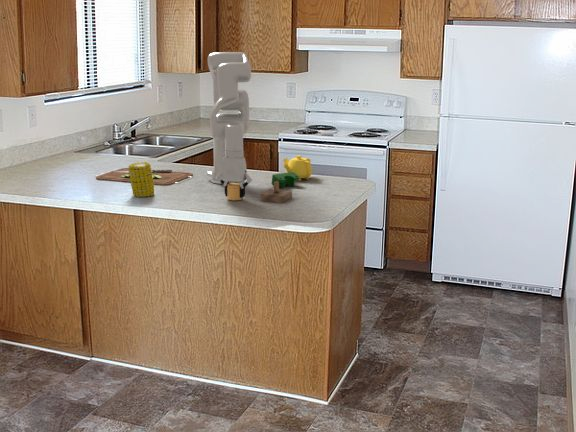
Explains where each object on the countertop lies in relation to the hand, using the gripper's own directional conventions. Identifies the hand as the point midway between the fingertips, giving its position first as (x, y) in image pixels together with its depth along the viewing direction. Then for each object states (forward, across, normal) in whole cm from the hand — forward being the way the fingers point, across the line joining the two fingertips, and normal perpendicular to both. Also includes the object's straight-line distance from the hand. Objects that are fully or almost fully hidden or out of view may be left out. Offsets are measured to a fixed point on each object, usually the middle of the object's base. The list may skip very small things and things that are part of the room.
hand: (234, 195), depth 317 cm
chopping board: (+3, -60, +26) cm, 65 cm away
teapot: (+2, +9, +49) cm, 50 cm away
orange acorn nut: (+1, 0, 0) cm, 1 cm away
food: (+2, -40, -8) cm, 41 cm away
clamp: (+2, +11, +31) cm, 33 cm away
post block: (+1, +16, +7) cm, 18 cm away
